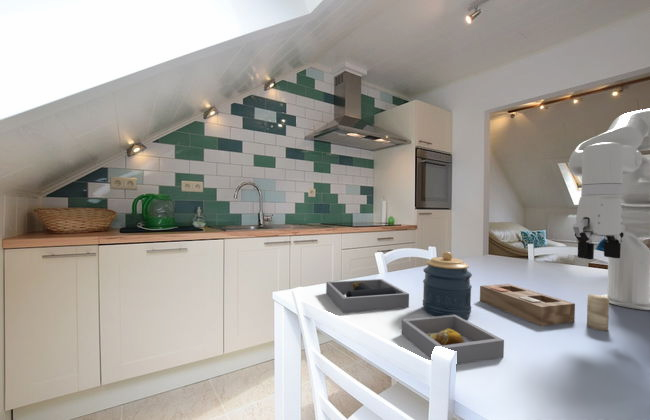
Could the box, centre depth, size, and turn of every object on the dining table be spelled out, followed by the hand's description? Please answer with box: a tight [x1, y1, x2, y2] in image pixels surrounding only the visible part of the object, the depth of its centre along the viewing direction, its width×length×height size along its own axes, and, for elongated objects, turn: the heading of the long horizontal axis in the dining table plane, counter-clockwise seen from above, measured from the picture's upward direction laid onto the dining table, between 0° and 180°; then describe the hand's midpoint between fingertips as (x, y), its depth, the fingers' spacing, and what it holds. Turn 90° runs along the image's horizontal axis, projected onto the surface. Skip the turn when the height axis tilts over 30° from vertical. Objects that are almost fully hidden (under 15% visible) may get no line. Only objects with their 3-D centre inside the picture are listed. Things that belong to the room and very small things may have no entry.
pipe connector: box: [345, 282, 396, 297], centre depth 90 cm, size 12×5×15 cm
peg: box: [586, 293, 610, 332], centre depth 73 cm, size 4×4×8 cm
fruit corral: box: [401, 315, 505, 366], centre depth 62 cm, size 15×14×4 cm
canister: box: [422, 251, 473, 320], centre depth 82 cm, size 13×13×18 cm
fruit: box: [427, 328, 465, 346], centre depth 62 cm, size 8×8×4 cm
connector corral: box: [325, 278, 410, 314], centre depth 91 cm, size 21×18×4 cm
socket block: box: [479, 283, 576, 327], centre depth 84 cm, size 12×20×5 cm, turn 16°
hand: (598, 257), depth 73 cm, fingers open, 9 cm apart
